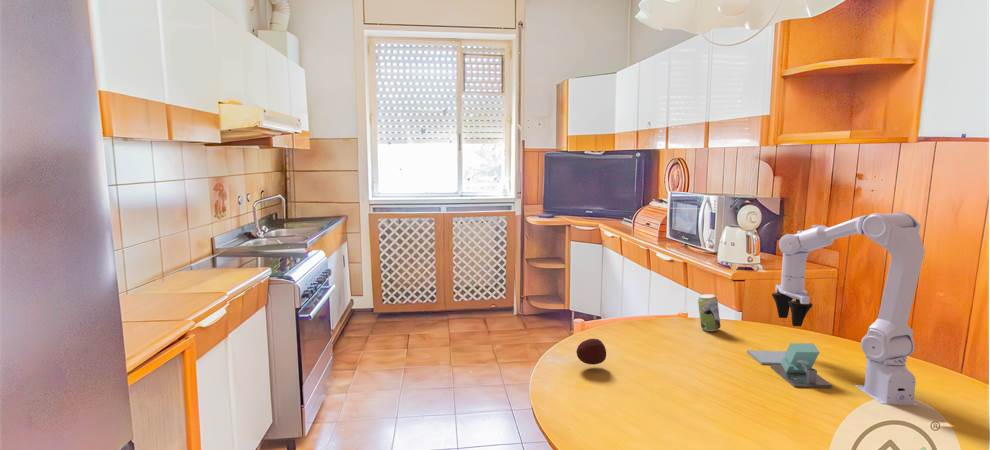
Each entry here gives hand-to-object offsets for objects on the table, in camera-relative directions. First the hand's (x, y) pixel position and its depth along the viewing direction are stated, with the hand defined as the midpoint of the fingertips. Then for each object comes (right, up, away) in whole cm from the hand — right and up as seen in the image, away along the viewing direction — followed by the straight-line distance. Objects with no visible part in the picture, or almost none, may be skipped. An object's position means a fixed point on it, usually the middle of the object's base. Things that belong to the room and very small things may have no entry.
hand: (789, 321), depth 140 cm
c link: (-6, -10, -12) cm, 17 cm away
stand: (-6, -12, -14) cm, 19 cm away
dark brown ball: (-59, -11, -5) cm, 60 cm away
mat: (-5, -10, -2) cm, 12 cm away
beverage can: (-13, -8, +23) cm, 28 cm away
